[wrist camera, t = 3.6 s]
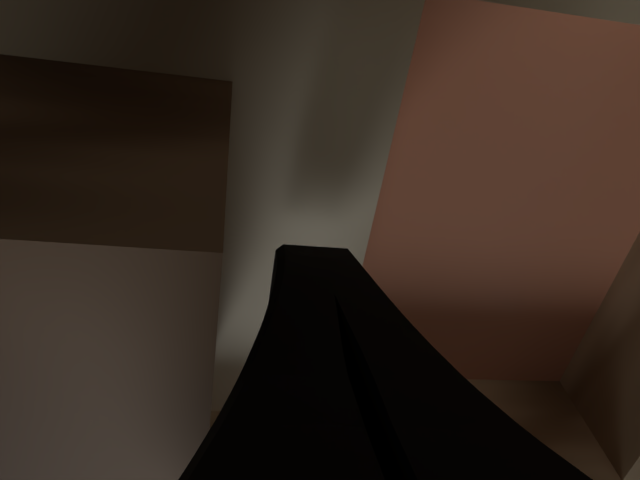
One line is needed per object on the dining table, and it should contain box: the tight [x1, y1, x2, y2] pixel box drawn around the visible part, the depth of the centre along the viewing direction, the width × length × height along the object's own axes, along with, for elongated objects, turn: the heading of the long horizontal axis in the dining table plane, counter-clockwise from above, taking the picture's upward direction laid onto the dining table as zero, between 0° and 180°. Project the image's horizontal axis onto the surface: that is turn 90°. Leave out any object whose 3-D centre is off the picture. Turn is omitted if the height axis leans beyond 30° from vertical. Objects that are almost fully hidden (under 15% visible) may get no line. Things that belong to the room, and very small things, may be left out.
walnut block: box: [0, 54, 233, 480], centre depth 8 cm, size 6×6×5 cm
